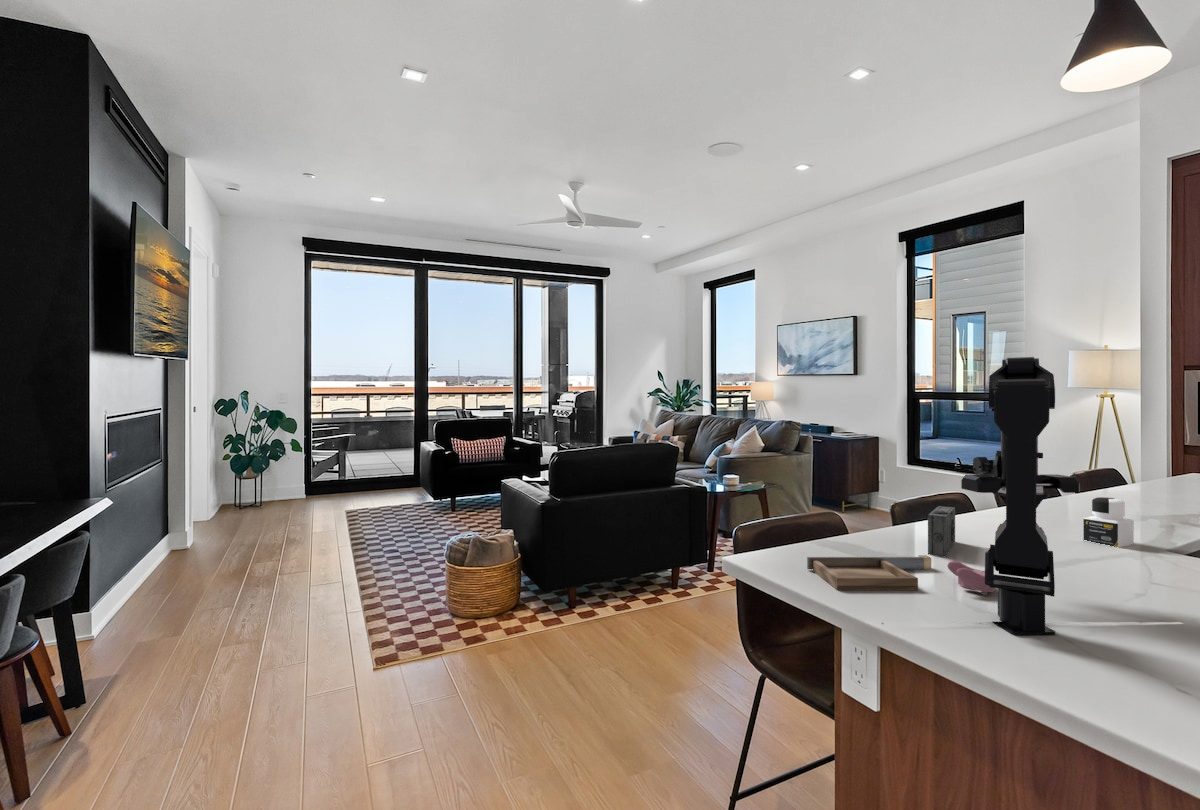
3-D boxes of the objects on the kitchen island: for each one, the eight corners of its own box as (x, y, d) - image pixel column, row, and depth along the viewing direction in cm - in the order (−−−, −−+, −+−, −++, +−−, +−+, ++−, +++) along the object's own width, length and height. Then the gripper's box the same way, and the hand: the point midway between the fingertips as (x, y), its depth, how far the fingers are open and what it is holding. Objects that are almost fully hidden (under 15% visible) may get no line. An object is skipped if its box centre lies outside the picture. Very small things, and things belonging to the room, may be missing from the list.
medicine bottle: (1082, 546, 149) (1082, 497, 149) (1099, 543, 152) (1099, 495, 152) (1117, 552, 142) (1117, 501, 142) (1134, 549, 145) (1134, 499, 145)
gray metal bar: (931, 569, 127) (931, 557, 127) (808, 569, 127) (808, 557, 127) (925, 566, 129) (925, 555, 129) (804, 566, 129) (804, 555, 129)
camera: (946, 561, 135) (946, 516, 135) (926, 558, 137) (926, 514, 137) (956, 547, 148) (956, 506, 148) (937, 545, 150) (937, 504, 150)
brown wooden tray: (917, 590, 114) (917, 578, 114) (837, 590, 114) (837, 578, 114) (885, 571, 127) (885, 560, 127) (813, 571, 127) (812, 560, 127)
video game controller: (957, 593, 111) (1002, 597, 108) (957, 568, 111) (1001, 571, 109) (947, 583, 120) (988, 587, 118) (946, 559, 120) (987, 563, 118)
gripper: (1038, 443, 123) (1038, 521, 123) (945, 443, 123) (945, 521, 123) (1082, 447, 112) (1082, 533, 112) (979, 447, 112) (979, 533, 112)
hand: (1019, 529), depth 115 cm, fingers closed
